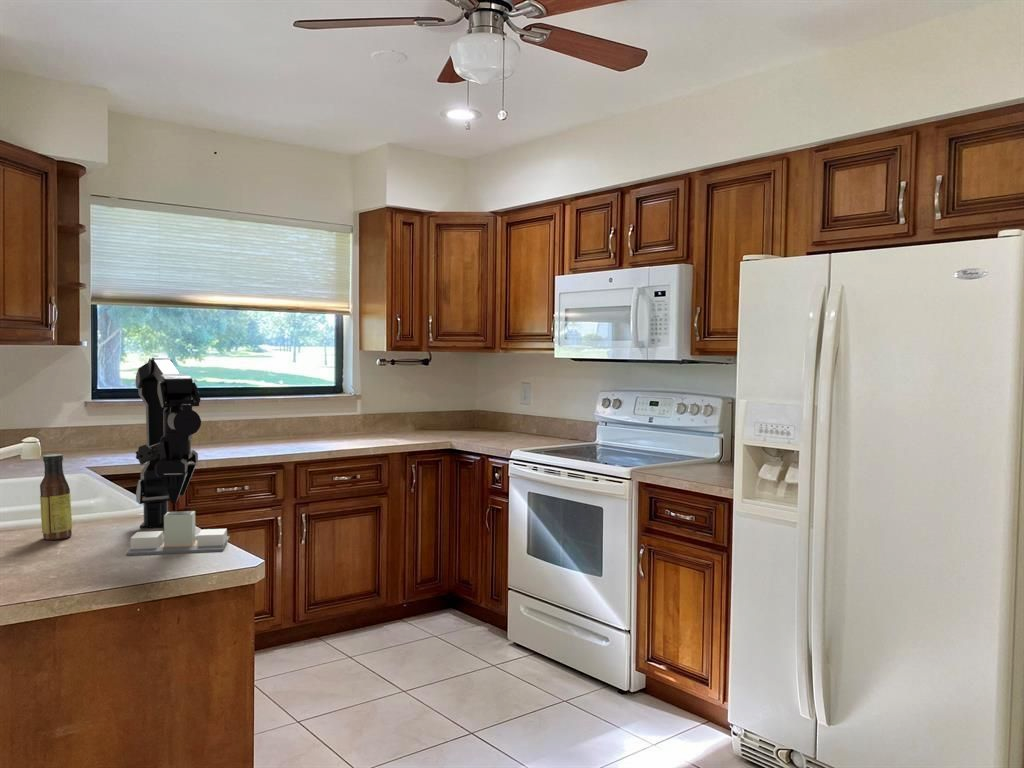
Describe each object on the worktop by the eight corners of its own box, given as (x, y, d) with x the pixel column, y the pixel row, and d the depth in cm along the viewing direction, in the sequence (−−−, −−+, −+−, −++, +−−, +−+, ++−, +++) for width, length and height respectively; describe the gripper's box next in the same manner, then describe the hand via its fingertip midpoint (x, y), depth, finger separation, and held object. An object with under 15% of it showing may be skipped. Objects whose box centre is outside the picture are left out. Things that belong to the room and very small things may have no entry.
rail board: (139, 542, 185) (139, 529, 185) (229, 538, 189) (229, 525, 189) (126, 555, 173) (126, 541, 173) (222, 551, 178) (222, 537, 177)
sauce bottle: (77, 534, 191) (76, 453, 190) (63, 541, 185) (62, 456, 184) (49, 534, 191) (48, 452, 190) (35, 540, 185) (33, 456, 184)
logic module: (167, 542, 182) (167, 511, 182) (195, 540, 184) (195, 510, 183) (164, 546, 179) (163, 515, 178) (192, 545, 180) (192, 514, 180)
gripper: (148, 427, 188) (148, 492, 188) (128, 436, 169) (129, 508, 170) (198, 426, 190) (198, 491, 191) (184, 435, 172) (184, 506, 173)
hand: (177, 498), depth 181 cm, fingers open, 9 cm apart
